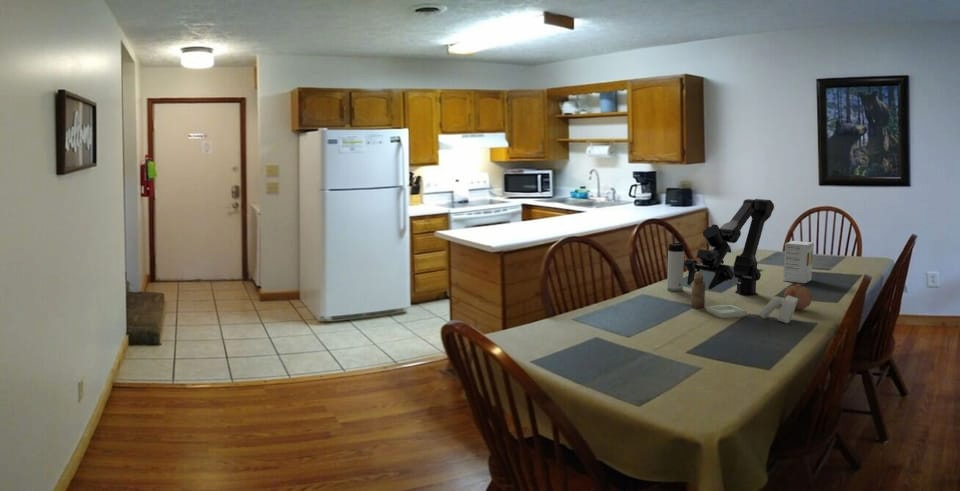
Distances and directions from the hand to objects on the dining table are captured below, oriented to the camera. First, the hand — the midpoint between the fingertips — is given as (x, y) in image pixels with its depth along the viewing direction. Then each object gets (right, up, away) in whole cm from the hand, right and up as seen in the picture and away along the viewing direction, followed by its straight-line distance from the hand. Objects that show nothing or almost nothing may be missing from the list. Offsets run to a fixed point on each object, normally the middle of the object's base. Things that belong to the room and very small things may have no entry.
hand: (698, 286), depth 257 cm
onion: (+34, -9, -5) cm, 36 cm away
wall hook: (+22, -11, -17) cm, 30 cm away
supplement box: (+57, 0, +43) cm, 72 cm away
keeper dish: (+7, -9, -8) cm, 14 cm away
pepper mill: (0, -8, +1) cm, 8 cm away
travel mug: (0, -3, +30) cm, 30 cm away
